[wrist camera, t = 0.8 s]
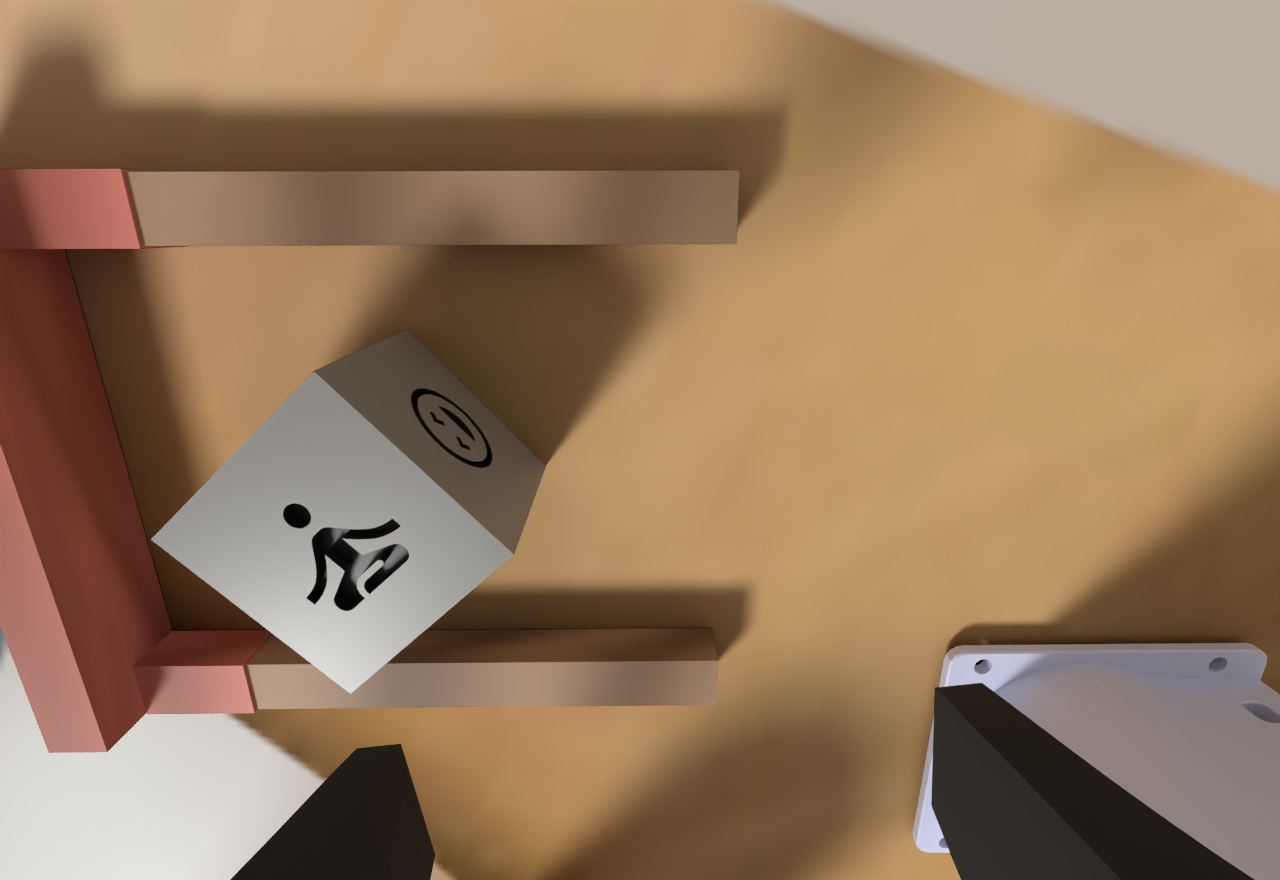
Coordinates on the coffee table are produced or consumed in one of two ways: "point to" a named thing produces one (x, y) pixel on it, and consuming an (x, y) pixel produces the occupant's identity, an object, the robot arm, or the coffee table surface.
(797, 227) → the coffee table surface
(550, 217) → the guide channel
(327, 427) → the dice cube
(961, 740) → the robot arm
